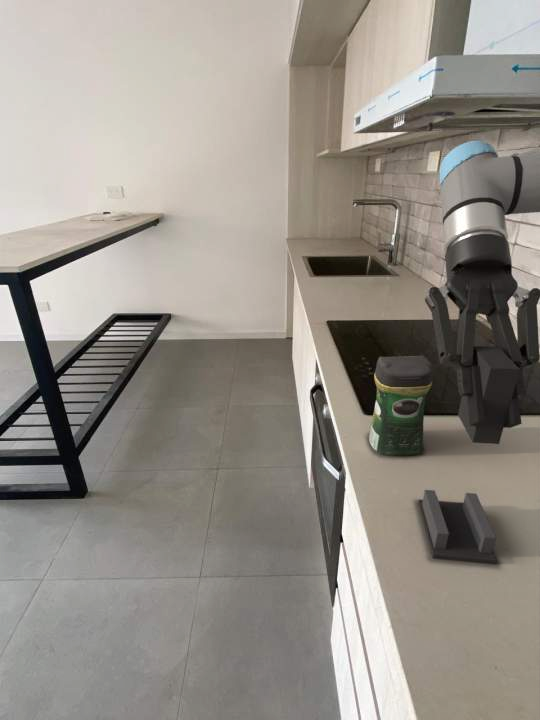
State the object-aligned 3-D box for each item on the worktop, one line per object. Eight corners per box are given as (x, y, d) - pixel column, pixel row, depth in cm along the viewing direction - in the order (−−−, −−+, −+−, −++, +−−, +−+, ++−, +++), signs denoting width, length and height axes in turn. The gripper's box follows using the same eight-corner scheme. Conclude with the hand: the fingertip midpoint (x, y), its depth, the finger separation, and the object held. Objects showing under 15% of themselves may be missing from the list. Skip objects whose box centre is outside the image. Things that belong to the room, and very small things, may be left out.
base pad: (470, 509, 61) (476, 488, 60) (494, 566, 52) (502, 544, 51) (417, 504, 62) (421, 484, 61) (432, 560, 54) (436, 538, 52)
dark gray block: (481, 416, 52) (498, 346, 48) (499, 444, 47) (520, 369, 42) (457, 414, 52) (472, 345, 48) (472, 442, 47) (490, 368, 43)
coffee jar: (412, 432, 80) (425, 348, 72) (426, 458, 72) (442, 367, 64) (364, 433, 80) (372, 349, 72) (373, 459, 73) (383, 369, 65)
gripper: (526, 264, 55) (553, 434, 47) (406, 264, 57) (413, 426, 49) (557, 230, 48) (594, 422, 40) (419, 231, 50) (429, 414, 42)
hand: (494, 424), depth 45 cm, fingers closed on dark gray block, 3 cm apart
